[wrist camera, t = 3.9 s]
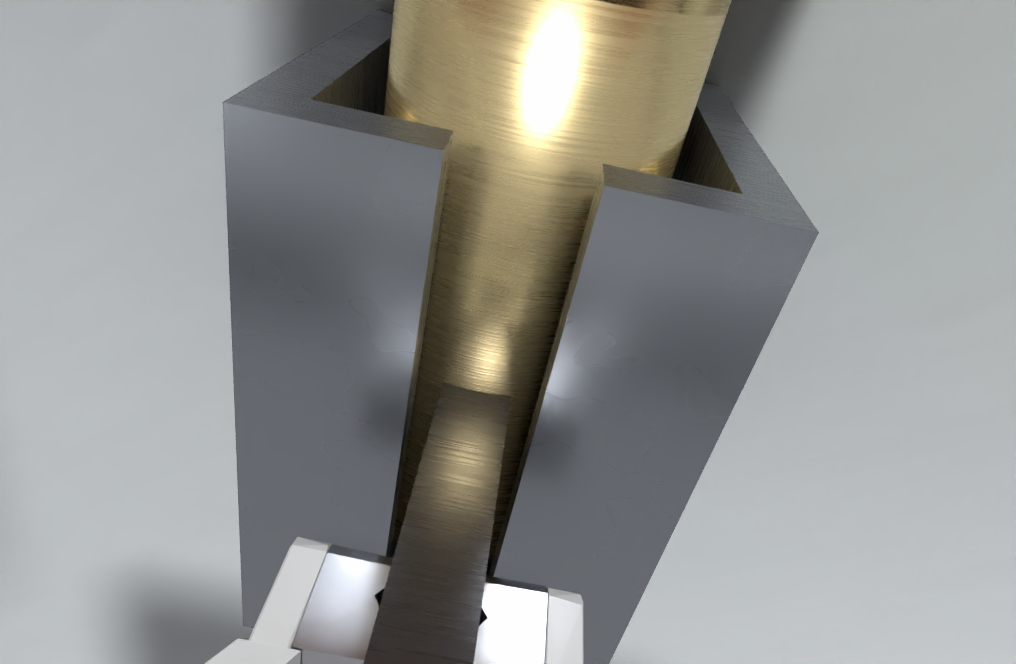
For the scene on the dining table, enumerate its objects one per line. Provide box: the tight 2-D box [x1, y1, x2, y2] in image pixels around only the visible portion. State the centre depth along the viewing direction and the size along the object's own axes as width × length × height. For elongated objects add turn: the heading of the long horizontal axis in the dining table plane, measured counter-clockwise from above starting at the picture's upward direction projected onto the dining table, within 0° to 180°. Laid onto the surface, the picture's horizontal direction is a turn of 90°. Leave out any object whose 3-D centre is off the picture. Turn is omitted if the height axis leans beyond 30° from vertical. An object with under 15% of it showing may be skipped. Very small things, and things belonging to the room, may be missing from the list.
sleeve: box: [223, 10, 819, 664], centre depth 14 cm, size 7×11×7 cm
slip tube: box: [363, 0, 732, 664], centre depth 11 cm, size 5×12×11 cm, turn 169°
